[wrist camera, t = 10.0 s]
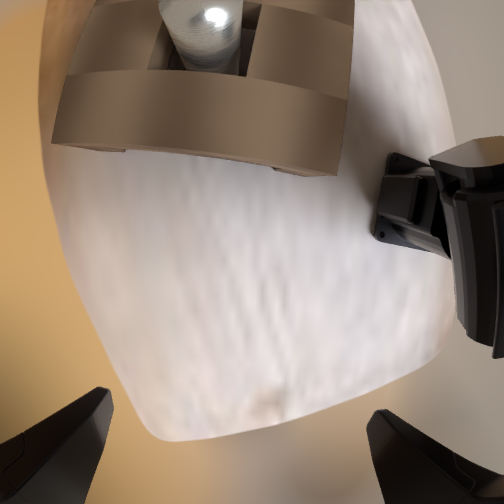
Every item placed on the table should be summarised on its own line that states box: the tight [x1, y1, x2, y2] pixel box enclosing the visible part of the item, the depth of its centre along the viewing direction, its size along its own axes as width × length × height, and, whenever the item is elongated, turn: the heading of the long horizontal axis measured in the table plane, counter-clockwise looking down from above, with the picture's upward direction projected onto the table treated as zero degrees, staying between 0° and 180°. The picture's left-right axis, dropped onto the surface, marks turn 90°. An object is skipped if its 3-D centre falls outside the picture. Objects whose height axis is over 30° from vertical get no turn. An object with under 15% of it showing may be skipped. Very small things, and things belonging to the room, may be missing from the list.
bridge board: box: [51, 0, 355, 177], centre depth 13 cm, size 14×12×6 cm
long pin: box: [159, 0, 243, 76], centre depth 11 cm, size 3×3×9 cm
